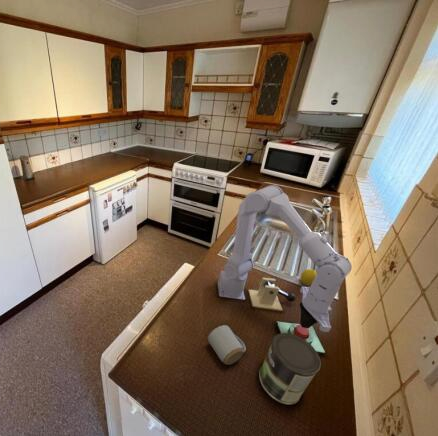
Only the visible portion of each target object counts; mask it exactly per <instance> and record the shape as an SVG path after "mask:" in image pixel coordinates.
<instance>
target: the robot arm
mask: <svg viewBox="0 0 438 436" xmlns="http://www.w3.org/2000/svg"><path fill="white" fill-rule="evenodd" d="M264 211H266V212H265V213H264V214H265V215H267V216H274V217H279V218H280V219H281V221H282V222H284V224H285V225H286V226H287V227H288V228H289V229H290V230H291V231H292V232H293V233H294V235H295V236H297V237H298V246H299V247H300V248H301V249H302V251H303V252H304V254H305V255H306V256H307V257H308V258H309V259H310V260H311V261H312V263H313V265H315V266H316V270H315V271H316V273H317V276H316V277H315V278H314V280H313V283H312V285H311V286H301V287H300V290H299V292H300V293H301V294H302V297H301V298H302V301H301V302H300V303H299V309H300V321H299V324H301V326H302V327H303V328H310V327H311V326H312V327H313V326H314V325H316V324H317V323H318V324H319V330H320V332H324V333H329V332H330V331H331V329H332V326H331V324H330V316H329V312H332V308H331V304H332V303H333V301H334V299H335V297H336V296H337V294H338V292H339V291H340V289H341V286H342V285H343V282H344V280H345V279H346V277H347V276H348V275H349V274H350V273H351V271H352V268H353V267H352V264H351V261H350V260H349V258H348V257H346V256H345V255H342V254H339V253H338V252H337V251H335V249H334V248H333V247H332V246H331V244H329V242H328V239H327V237H326V236H325V235H324V236H322V235H321V233H319V232H316V231H313V230H311V229H310V228H309V226H308V225H307V224H306V222H305V220H304V219H303V218H302V217H301V216H300V214H299V213H298V211H297V210H296V209H295V208H294V206H293V205H292V203H291V202H290V198H289V196H288V195H287V194H286V193H285V192H284V191H283V190H282V188H281V187H279V186H278V185H276V184H269V185H267V186H264V187H263V188H260V189H257V190H254V191H252V192H250V193H248V194H246V195H245V198H244V199H243V200H242V201H241V203H240V204H239V205H238V210H237V219H236V226H235V233H234V242H233V249H232V252H231V254H230V255H229V256H228V258H227V260H226V261H227V262H226V263H225V264H224V267H223V270H220V272H219V276H218V280H217V289H218V296H219V297H221V298H229V299H235V300H236V299H238V300H243V301H245V300H246V296H245V292H244V289H245V286H246V282H247V279H248V274H249V271H251V270H252V269H253V268H254V265H255V264H254V260H253V254H252V253H251V247H252V240H253V234H254V228H255V222H256V215H257V213H262V212H264Z"/></svg>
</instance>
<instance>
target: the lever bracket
mask: <svg viewBox="0 0 438 436" xmlns="http://www.w3.org/2000/svg"><path fill="white" fill-rule="evenodd" d="M267 281H269V282H271V283H273V284H274V285H275V284H276V281H277V280H276V278H271V277H261V279H260V284H259V287H258V289H257V290H256V289H248V294H249V299H250V302H251V306H252V308H256V309H263V310H264V309H265V310H271V311H278V312H283V307H282V305H281V302H280V299H279V297H278V294H279V293H278V291H279V290H280V287H279V286H276V285H275V286H267V285H265V287H264V286H263V284H265V283H266V282H267Z"/></svg>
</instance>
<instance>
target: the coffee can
mask: <svg viewBox="0 0 438 436" xmlns="http://www.w3.org/2000/svg"><path fill="white" fill-rule="evenodd" d="M321 365H322V362H321V358H320V355H319V353H317V352H316V350H315V349H314V348H313V347H312V346H311V345H310V344H309V343H308V342H307V341H306V340H304V339H303V338H301V337H299V336H297V335H294V334H290V333H280V332H279V333H278V334H275V336H274V337H273V339H272V341H271V345H270V347H269V349H268V352H267V354H266V356H265V359H264V361H263V363H262V366H261V367H260V369H259V371H258V372H259V373H258V376H259V381H260V384H261V386H262V388H263V390H264V391H265V392H266V394H268V396H269V397H271V398H272V399H273V400H275V401H276V402H278V403H280V404H284V405H295V404H296V403H298V402H299V401H300V399H301V397H302V395H303V394H304V392H305V391H306V389H307V388H308V386H309V384H310V383H311V381H312V380H313V379H314V378H315V376H316V374H318V372H319V371H320V370H321V367H322V366H321Z"/></svg>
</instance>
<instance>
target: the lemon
mask: <svg viewBox="0 0 438 436" xmlns="http://www.w3.org/2000/svg"><path fill="white" fill-rule="evenodd" d="M316 276H317V273H316V270H315V269H312V268H307V269H305V270H304V271H303V272H302V273H301V275H300V281H301V282H302V284H303V285H305V286H306V287H311V285H312V283H313V280H314V278H315V277H316Z"/></svg>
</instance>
